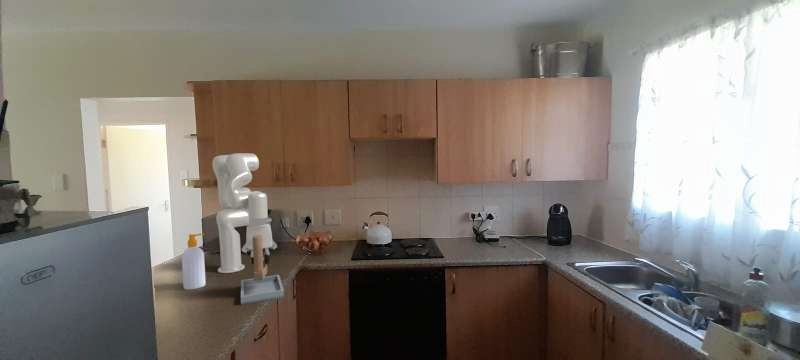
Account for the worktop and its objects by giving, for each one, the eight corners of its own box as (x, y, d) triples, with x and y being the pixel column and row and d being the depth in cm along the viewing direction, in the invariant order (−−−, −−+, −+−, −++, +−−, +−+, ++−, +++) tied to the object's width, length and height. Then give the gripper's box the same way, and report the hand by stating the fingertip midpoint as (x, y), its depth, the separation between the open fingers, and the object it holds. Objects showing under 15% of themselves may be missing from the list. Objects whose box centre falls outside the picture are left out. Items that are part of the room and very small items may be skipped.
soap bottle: (203, 288, 153) (200, 235, 152) (180, 290, 152) (177, 237, 150) (210, 282, 162) (207, 231, 161) (188, 284, 160) (185, 233, 159)
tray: (241, 286, 154) (241, 280, 154) (279, 281, 161) (279, 274, 161) (241, 304, 134) (240, 297, 134) (284, 297, 141) (283, 290, 141)
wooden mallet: (267, 272, 153) (265, 232, 152) (263, 280, 142) (261, 237, 141) (258, 273, 152) (256, 232, 151) (253, 281, 142) (251, 237, 141)
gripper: (278, 219, 153) (280, 259, 154) (236, 222, 146) (239, 265, 147) (280, 221, 146) (282, 264, 147) (236, 225, 139) (238, 270, 140)
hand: (260, 264), depth 147 cm, fingers closed on wooden mallet, 4 cm apart
